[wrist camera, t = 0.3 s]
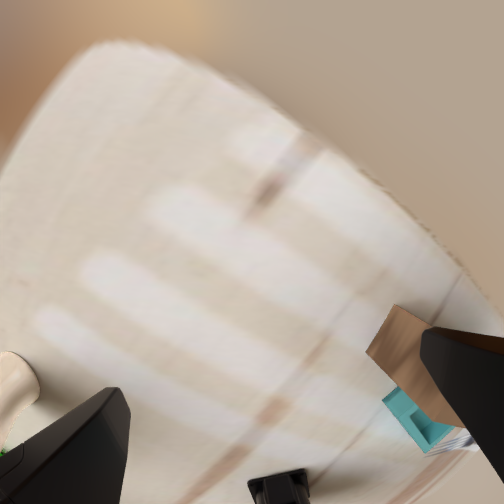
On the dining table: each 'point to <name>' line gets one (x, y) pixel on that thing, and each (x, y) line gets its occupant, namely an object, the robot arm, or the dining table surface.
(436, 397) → the walnut post
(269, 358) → the dining table surface
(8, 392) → the beer glass
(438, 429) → the teal tray
